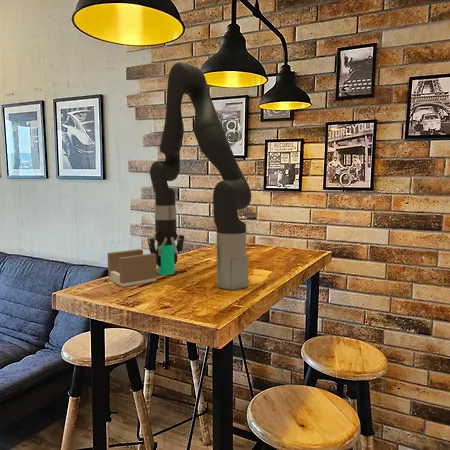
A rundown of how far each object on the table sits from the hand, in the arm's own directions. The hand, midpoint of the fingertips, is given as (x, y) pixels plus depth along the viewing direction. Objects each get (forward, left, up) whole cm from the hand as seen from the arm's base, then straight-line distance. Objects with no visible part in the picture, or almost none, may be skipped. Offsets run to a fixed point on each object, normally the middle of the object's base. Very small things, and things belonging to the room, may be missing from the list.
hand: (166, 264), depth 148 cm
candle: (0, 0, -3) cm, 3 cm away
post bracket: (-2, +14, -3) cm, 15 cm away
